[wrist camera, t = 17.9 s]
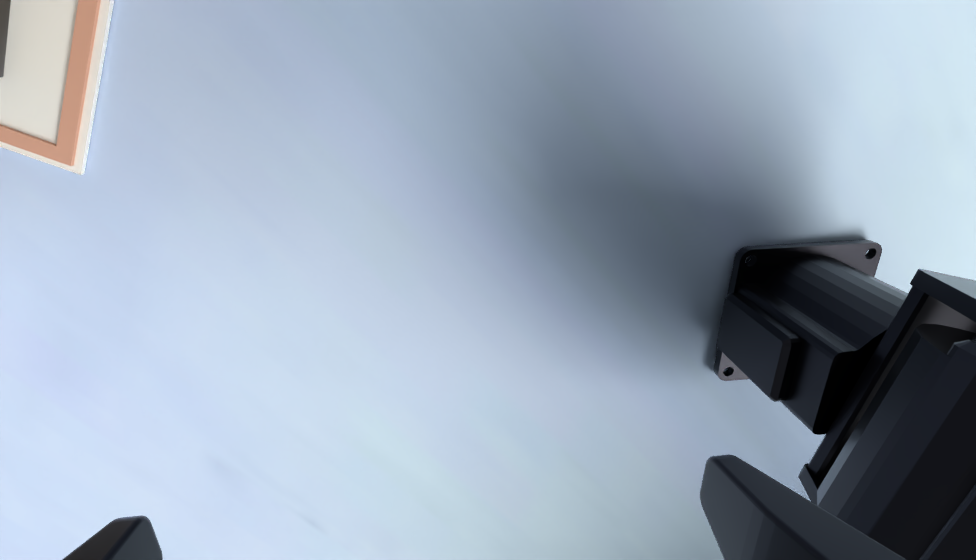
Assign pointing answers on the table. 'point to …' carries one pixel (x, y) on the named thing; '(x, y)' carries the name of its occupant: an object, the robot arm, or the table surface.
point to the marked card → (53, 78)
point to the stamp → (3, 31)
